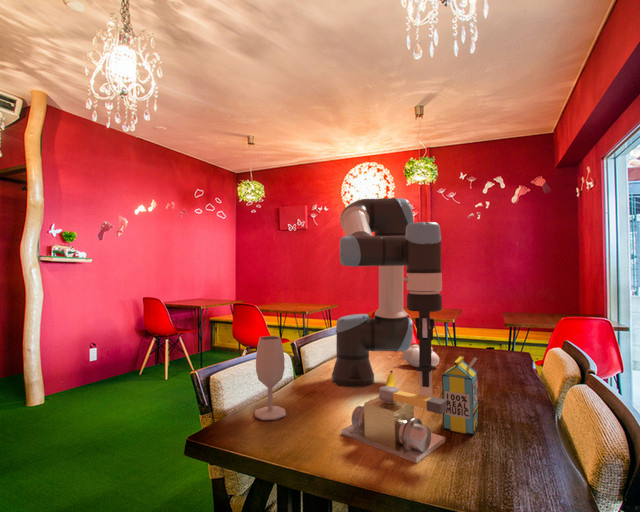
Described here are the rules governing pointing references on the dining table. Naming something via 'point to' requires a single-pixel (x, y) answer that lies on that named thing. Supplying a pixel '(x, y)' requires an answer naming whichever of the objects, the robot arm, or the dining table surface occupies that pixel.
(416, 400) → the lever
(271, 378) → the wineglass
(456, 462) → the dining table surface
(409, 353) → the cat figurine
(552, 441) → the dining table surface
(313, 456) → the dining table surface
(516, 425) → the dining table surface
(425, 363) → the robot arm
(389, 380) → the banana
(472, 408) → the carton
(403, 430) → the valve body
